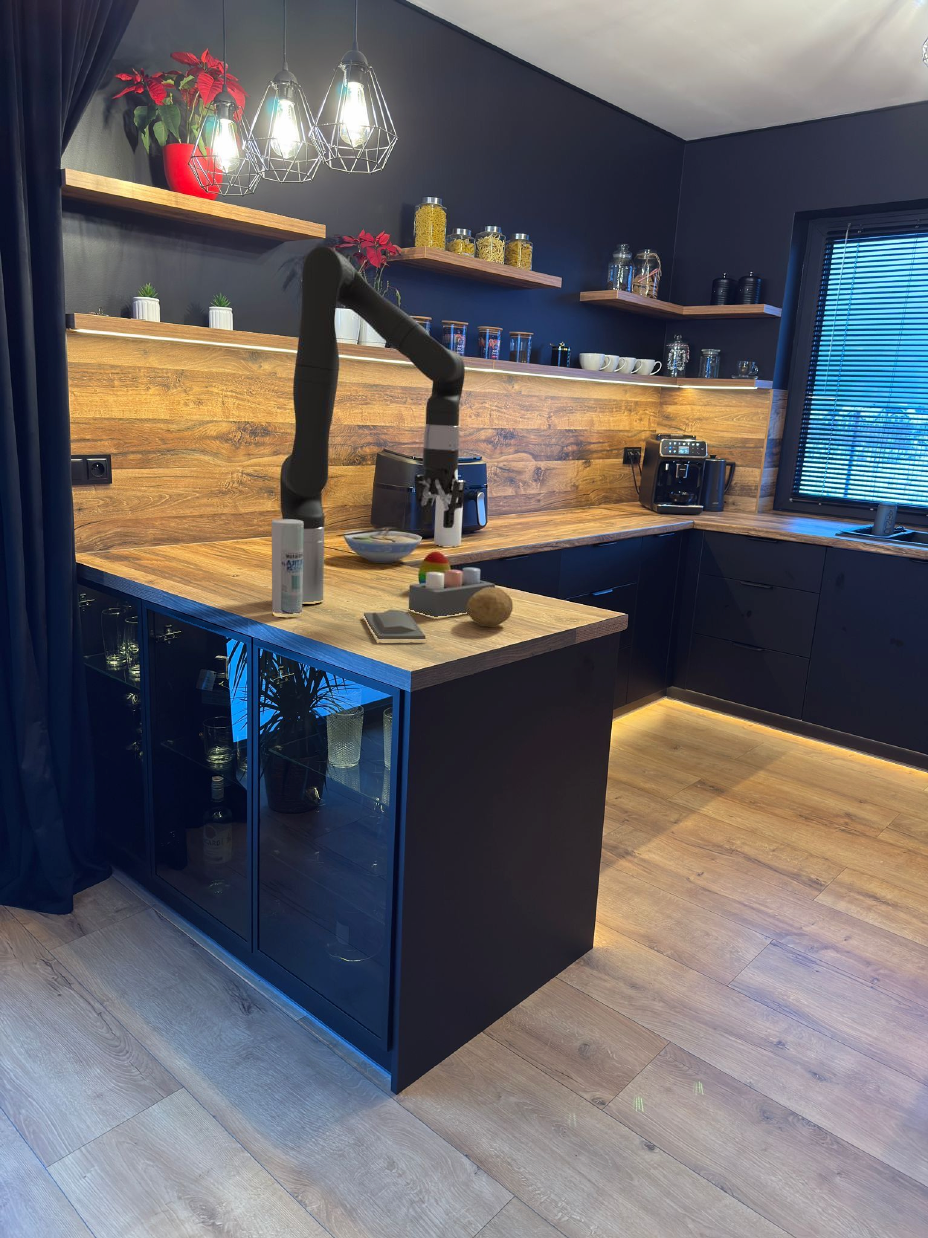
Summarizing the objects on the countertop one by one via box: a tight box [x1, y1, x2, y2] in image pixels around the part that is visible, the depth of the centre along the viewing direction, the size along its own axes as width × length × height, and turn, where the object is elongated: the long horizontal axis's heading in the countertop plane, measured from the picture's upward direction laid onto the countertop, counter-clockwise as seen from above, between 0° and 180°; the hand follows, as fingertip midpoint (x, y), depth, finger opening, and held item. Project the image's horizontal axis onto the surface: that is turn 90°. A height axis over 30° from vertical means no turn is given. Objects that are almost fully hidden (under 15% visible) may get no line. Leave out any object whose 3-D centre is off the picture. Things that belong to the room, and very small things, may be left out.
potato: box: [466, 586, 514, 627], centre depth 187 cm, size 10×14×8 cm
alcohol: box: [433, 469, 464, 547], centre depth 287 cm, size 9×9×30 cm
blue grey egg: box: [462, 567, 481, 585], centre depth 201 cm, size 4×4×6 cm
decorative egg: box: [417, 551, 452, 584], centre depth 217 cm, size 8×8×10 cm
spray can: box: [271, 518, 304, 614], centre depth 184 cm, size 6×6×20 cm
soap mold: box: [363, 609, 427, 640], centre depth 179 cm, size 10×20×4 cm, turn 13°
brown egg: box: [444, 569, 463, 587], centre depth 198 cm, size 4×4×6 cm
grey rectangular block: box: [408, 579, 496, 617], centre depth 198 cm, size 18×9×6 cm, turn 134°
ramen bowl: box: [335, 526, 423, 564], centre depth 255 cm, size 25×23×8 cm
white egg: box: [426, 572, 444, 590], centre depth 194 cm, size 4×4×6 cm
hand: (437, 525), depth 191 cm, fingers open, 6 cm apart
